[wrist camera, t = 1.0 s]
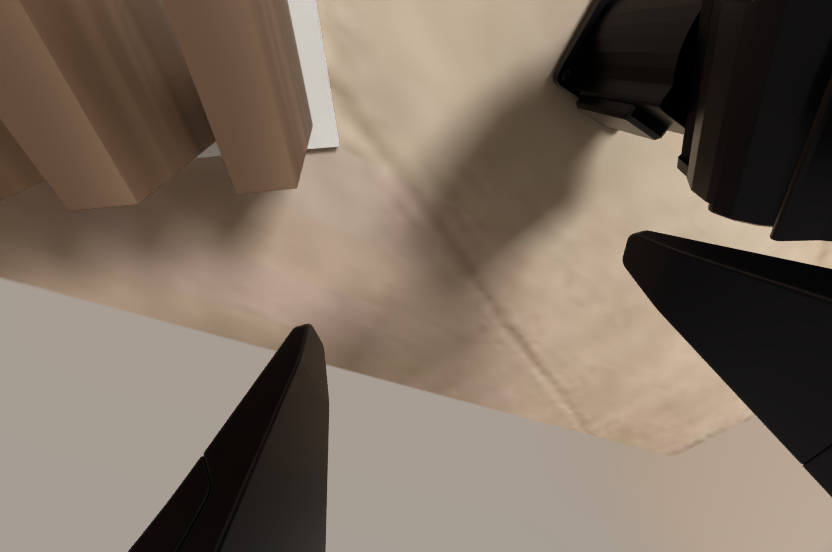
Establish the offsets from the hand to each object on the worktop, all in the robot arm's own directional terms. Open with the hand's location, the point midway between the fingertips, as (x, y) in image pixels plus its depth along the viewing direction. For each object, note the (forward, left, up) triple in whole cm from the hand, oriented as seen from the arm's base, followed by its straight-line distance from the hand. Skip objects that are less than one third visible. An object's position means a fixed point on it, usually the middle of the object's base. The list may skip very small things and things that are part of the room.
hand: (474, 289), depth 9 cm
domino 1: (-2, -7, -12) cm, 14 cm away
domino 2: (0, -10, -12) cm, 16 cm away
